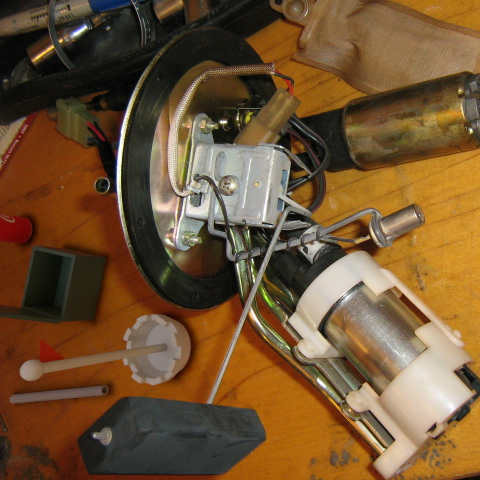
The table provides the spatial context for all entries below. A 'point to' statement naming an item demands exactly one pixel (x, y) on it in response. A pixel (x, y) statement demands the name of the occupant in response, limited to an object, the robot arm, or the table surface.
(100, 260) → the dark green open box
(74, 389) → the metal rod
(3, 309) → the box lid
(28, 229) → the beverage can
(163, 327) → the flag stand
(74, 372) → the table surface
